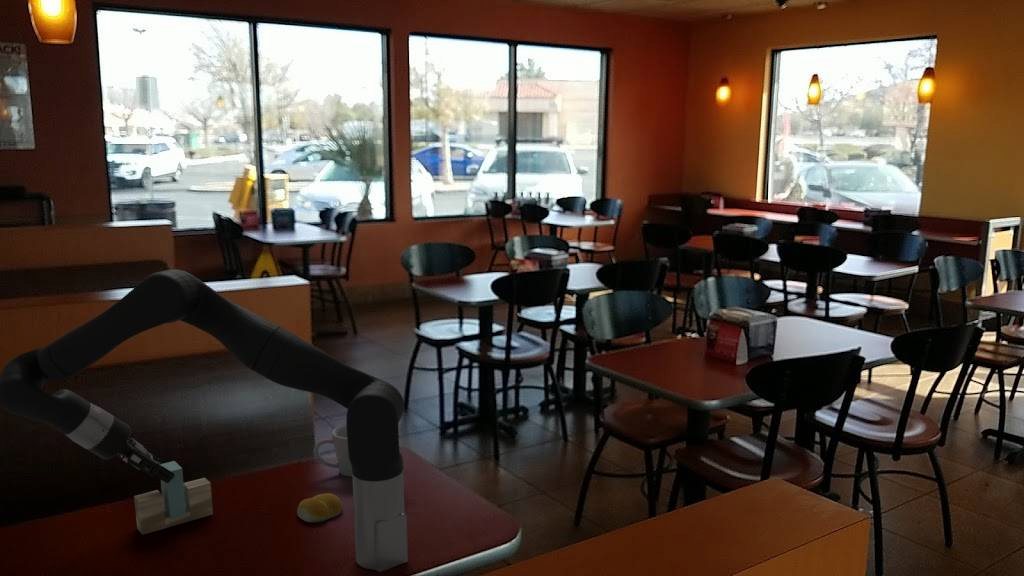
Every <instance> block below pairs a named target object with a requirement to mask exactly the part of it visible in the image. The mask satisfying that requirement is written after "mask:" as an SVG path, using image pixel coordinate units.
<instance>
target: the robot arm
mask: <svg viewBox="0 0 1024 576" xmlns="http://www.w3.org/2000/svg"><path fill="white" fill-rule="evenodd" d="M178 321H181V322H183V323H186V324H188V325H190V326H193V327H195V328H196V329H199V330H201V331H203V332H205V333H207V334H208V335H210V336H211V337H213V338H215V339H216V340H217V341H218V342H219V343H220V344H222V346H223V347H224V348H225V349H227V351H228V352H229V353H230V354H231V355H232V356H233V357H234V358H235V359H236V360H237V361H239V362H240V363H241V364H242V365H244V366H245V367H246V368H248V369H249V370H250V371H253V372H255V373H256V374H258V375H260V376H262V377H264V378H265V379H267V380H269V381H271V382H273V383H275V384H277V385H280V386H283V387H285V388H291V389H295V390H299V391H301V392H302V391H303V392H308V393H312V394H317V395H320V396H323V397H324V398H328V399H330V400H332V401H333V402H335V403H337V404H339V406H342V407H343V408H345V409H346V410H347V411H346V419H345V421H346V424H345V425H346V427H347V442H348V454H349V460H350V463H351V465H352V476H353V477H352V495H353V496H352V497H353V498H352V499H353V500H352V501H353V519H354V520H353V523H354V542H355V545H354V546H355V560H356V563H357V565H358V566H360V567H362V568H364V569H366V570H373V571H376V572H378V573H382V572H385V571H387V570H390V569H393V568H394V567H397V566H400V565H402V564H406V563H407V562H408V559H409V558H408V555H409V554H408V529H407V523H408V521H407V514H406V513H405V493H404V492H405V491H404V489H405V488H404V487H405V486H404V459H403V458H404V457H403V455H402V453H401V452H400V436H399V423H400V420H402V419H401V418H402V417H403V415H404V412H405V401H404V397H403V395H402V393H401V392H400V391H399V390H398V389H397V388H396V387H395V386H394V385H392V384H391V383H390V382H388V381H385V380H383V379H380V378H378V377H376V376H374V375H371V374H369V373H366V372H364V371H361V370H360V369H357V368H355V367H353V366H351V365H349V364H346V363H345V362H342V361H341V360H339V359H337V358H336V357H334V356H333V355H331V354H329V353H327V352H326V351H324V350H322V349H320V348H318V347H316V346H315V345H313V344H312V343H310V342H308V341H306V340H305V339H303V338H302V337H300V336H298V335H296V334H295V333H293V332H291V331H290V330H287V329H285V328H283V327H281V326H280V325H279V324H276V323H274V322H272V321H270V320H268V319H267V318H265V317H263V316H261V315H258V314H257V313H255V312H253V311H251V310H249V309H247V308H244V307H243V306H240V305H239V304H236V303H234V302H233V301H231V300H229V299H228V298H227V297H225V296H223V295H222V294H221V293H219V292H218V291H216V290H215V289H213V288H211V287H210V286H209V285H207V284H206V283H205V282H204V281H202V280H200V279H199V278H197V277H196V276H194V275H193V274H192V273H189V272H187V271H185V270H182V269H177V268H176V269H166V270H162V271H157V272H153V273H152V274H151V273H150V274H149V275H148V276H146V277H145V278H144V279H142V281H140V282H139V283H138V284H137V285H136V286H134V287H133V288H132V289H131V290H130V291H129V292H128V293H127V294H125V295H124V296H123V297H122V298H121V299H120V300H118V301H117V302H115V303H114V304H113V305H112V306H110V307H109V308H108V309H105V311H103V312H101V313H100V314H99V315H97V316H95V317H94V318H92V319H90V320H88V321H86V322H84V323H83V324H81V325H78V326H77V327H76V328H74V329H72V330H70V331H68V332H67V333H65V334H64V335H61V336H60V337H58V338H57V339H55V340H53V341H51V342H50V343H48V344H47V345H45V346H42V347H38V348H34V349H32V350H29V351H26V352H23V353H21V354H18V355H17V356H15V357H13V358H12V359H11V360H10V361H8V362H7V363H6V364H5V365H4V367H3V368H2V371H1V374H0V407H1V408H2V409H3V410H5V411H7V412H8V413H10V414H12V415H16V416H19V417H22V418H25V419H28V420H31V421H32V420H33V421H36V422H39V423H44V424H46V425H48V426H50V427H51V428H53V429H55V430H56V431H57V432H60V433H62V434H63V435H65V436H66V437H68V438H69V439H70V440H71V441H72V442H74V443H75V444H77V445H79V446H80V447H82V448H84V449H85V450H88V451H89V452H90V453H93V454H94V455H96V456H98V457H99V458H101V459H102V460H110V459H112V458H113V457H115V456H116V455H117V456H119V457H120V459H121V461H123V462H124V463H126V464H129V465H132V466H133V467H134V468H136V469H137V470H139V471H142V472H143V473H145V474H147V475H148V476H149V477H152V478H153V477H154V476H155V477H156V478H157V479H159V480H160V481H161V480H162V481H164V482H166V483H169V482H170V481H171V480H172V478H173V477H174V473H173V472H171V471H170V470H168V469H166V468H165V467H163V466H162V465H160V464H163V461H162V460H161V459H160V457H157V456H155V455H154V454H152V453H150V452H149V451H148V450H147V448H145V447H144V445H142V444H141V443H140V442H138V441H137V440H135V439H134V438H132V437H131V438H130V436H131V432H132V428H131V426H130V425H128V424H127V423H125V422H124V421H123V420H121V419H119V418H118V417H116V416H114V415H113V414H112V413H110V412H108V411H106V410H105V409H103V408H101V407H100V406H97V405H95V404H94V403H91V402H90V401H88V400H87V399H85V398H83V397H82V396H80V395H79V394H77V393H75V392H73V391H72V390H69V389H65V388H63V389H58V390H57V391H55V392H54V393H53V394H50V393H47V392H45V390H43V388H44V385H45V383H46V382H47V381H49V380H50V379H51V380H52V381H58V382H60V381H65V380H67V379H70V378H72V377H74V376H76V375H77V374H78V373H81V372H82V371H84V370H86V369H87V368H89V367H90V366H92V365H93V364H95V363H97V362H99V361H101V360H102V359H103V358H104V357H106V356H107V355H109V353H110V352H112V351H113V350H115V348H117V347H119V346H120V345H121V344H123V343H124V342H126V341H128V340H129V339H131V338H133V337H135V336H136V335H139V334H140V333H143V332H146V331H149V330H151V329H154V328H157V327H159V326H161V325H164V324H165V325H166V324H171V323H176V322H178ZM147 467H149V468H147Z"/></svg>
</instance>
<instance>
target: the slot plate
mask: <svg viewBox="0 0 1024 576" xmlns="http://www.w3.org/2000/svg"><path fill="white" fill-rule="evenodd" d="M183 483H184V495H185V507H186V515H183V516H180V517H176V518H172V519H170V517H169V516H168V515H167V514H166V513H165V512H164V502H163V495H162V492H160V491H159V489H156V490H153V491H148V492H145V493H142V494H141V493H140V494H137V495H134V496H133V497H134V507H135V508H134V509H135V519H136V527H137V528H136V529H137V530H138V532H139V533H140V534H141V535H147V534H149V533H153V532H157V531H161V530H163V529H168V528H171V527H174V526H178V525H181V524H185V523H188V522H192V521H195V520H198V519H202V518H206V517H209V516H212V515H214V513H213V512H214V510H213V499H212V498H213V497H212V485H211V484H212V483H211V481H210V480H208V479H207V478H206V477H202V478H199V479H198V478H197V479H194V480H191V481H187V482H183Z"/></svg>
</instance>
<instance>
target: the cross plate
mask: <svg viewBox="0 0 1024 576" xmlns="http://www.w3.org/2000/svg"><path fill="white" fill-rule="evenodd" d="M160 465H162V466H163V467H165V468H166V469H168V470H170V471H171V472H173V473H174V477H173V478H172V480H171V481H170V482H169V483H166V482H164V481H162V480H161V479H160V489H161V494H162V495H163V502H164V512H165V513H166V514H167V515H168V516H169V517H170V519H172V518H176V517H180V516H183V515H186V507H185V495H184V483H185V482H184V474H183V468H182V466H180V465H179V464H178V463H177V462H176V461H175V460H173V461H169V462H165V463H161V464H160Z"/></svg>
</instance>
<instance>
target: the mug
mask: <svg viewBox="0 0 1024 576" xmlns="http://www.w3.org/2000/svg"><path fill="white" fill-rule="evenodd" d="M331 436H332V438H323V439H321V440H318V441H317V442H316V443H315V444H314V447H313V448H312V449H313V450H312V453H313V456H314V458H315V459H316V460H317V461H318V463H320V464H322V465H323V466H326V467H327V468H328V467H330V468H334V469H338V470H339V471H338V472H339V473H340V474H341V475H342V476H344V477H350V478H351V477H352V478H353V476H352V465H351V463H350V460H349V454H348V442H347V427H346V424H344V425H340V426H337V427H335V428H334V429H333V430H332V431H331ZM325 444H333V446H334V451H335V456H336V461H337V463H336V462H335V463H334V462H331V461H329V460H326V459H324V458H323V457H322V456H321V455H320V453H319V448H321V446H322V445H325Z"/></svg>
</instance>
